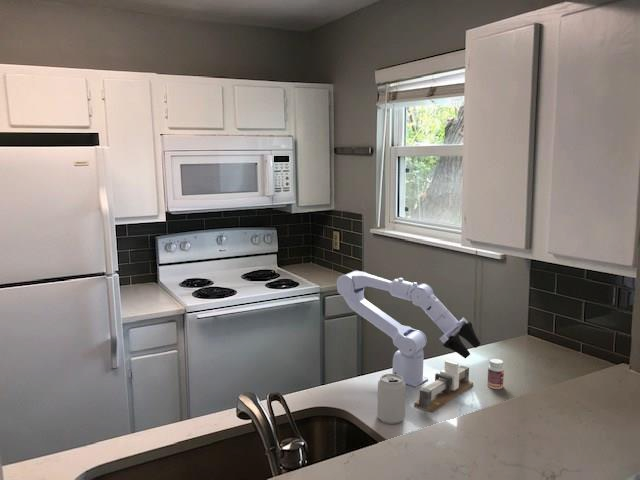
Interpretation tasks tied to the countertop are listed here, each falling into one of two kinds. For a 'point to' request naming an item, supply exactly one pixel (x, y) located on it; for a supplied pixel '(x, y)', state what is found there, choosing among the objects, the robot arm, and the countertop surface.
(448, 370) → the sleeve
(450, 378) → the grey square plate
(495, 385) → the pill bottle
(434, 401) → the pipe board
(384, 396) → the can
